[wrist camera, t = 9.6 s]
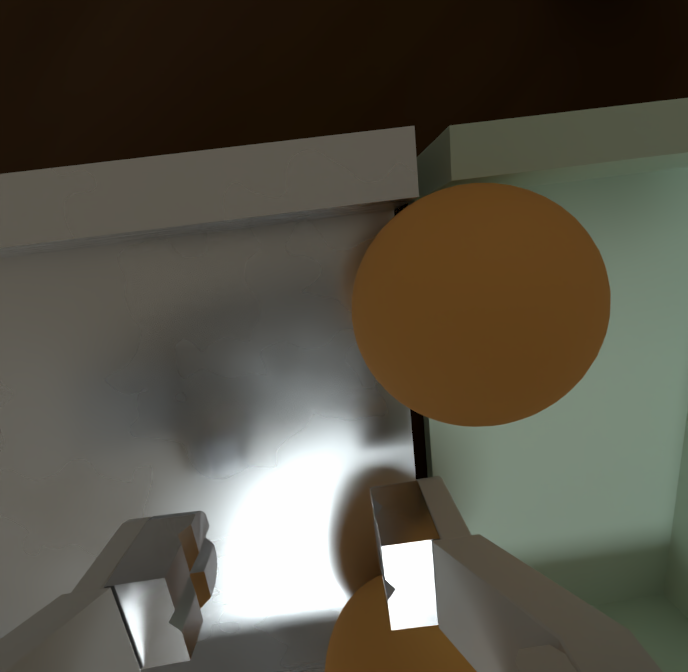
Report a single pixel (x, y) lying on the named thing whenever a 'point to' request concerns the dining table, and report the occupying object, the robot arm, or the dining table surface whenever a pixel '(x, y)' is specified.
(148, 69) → the dining table surface
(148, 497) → the grey metal shallow bin
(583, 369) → the ball
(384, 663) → the ball
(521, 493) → the tray
